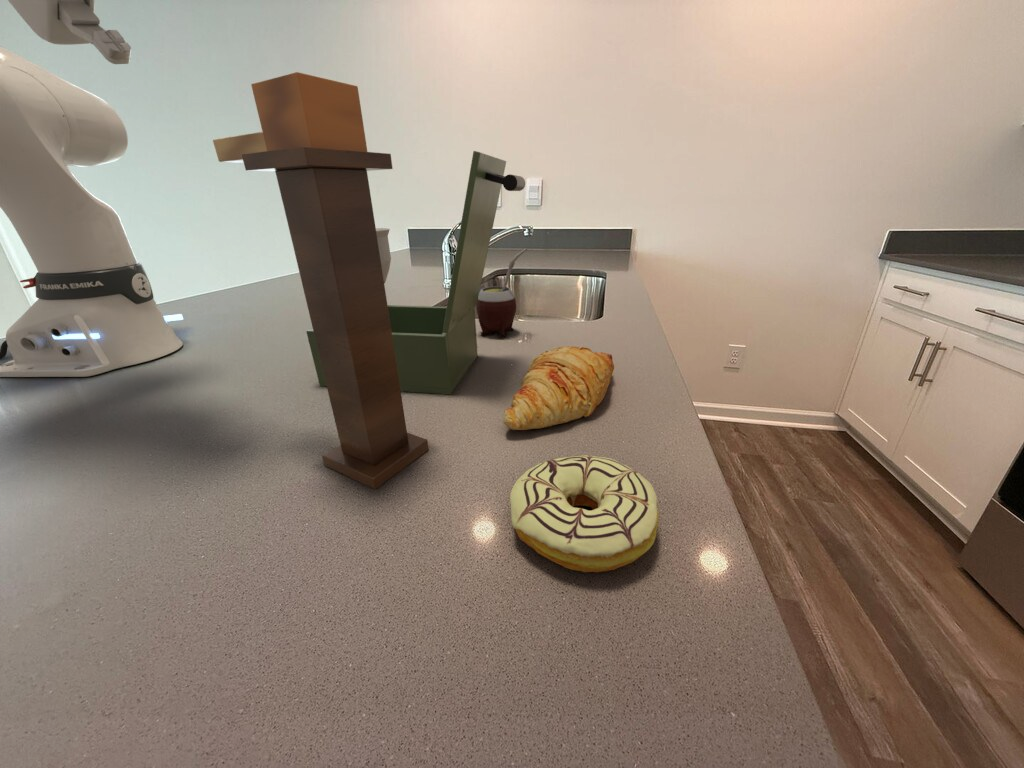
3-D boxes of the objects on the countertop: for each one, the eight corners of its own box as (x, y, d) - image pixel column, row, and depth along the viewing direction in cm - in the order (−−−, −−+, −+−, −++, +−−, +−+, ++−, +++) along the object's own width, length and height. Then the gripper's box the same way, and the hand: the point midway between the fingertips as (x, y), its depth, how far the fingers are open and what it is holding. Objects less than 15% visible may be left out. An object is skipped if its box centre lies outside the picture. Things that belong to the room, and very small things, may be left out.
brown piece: (202, 161, 32) (184, 101, 31) (259, 163, 36) (245, 109, 34) (312, 149, 26) (296, 71, 24) (368, 153, 29) (358, 86, 28)
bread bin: (319, 386, 55) (305, 331, 52) (368, 350, 67) (360, 304, 64) (450, 394, 52) (445, 336, 49) (477, 356, 64) (474, 307, 61)
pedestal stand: (324, 465, 39) (241, 153, 28) (380, 431, 44) (329, 159, 33) (375, 489, 35) (304, 146, 24) (429, 449, 41) (390, 153, 30)
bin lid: (473, 150, 40) (515, 161, 39) (501, 159, 52) (533, 168, 51) (442, 332, 48) (476, 342, 48) (472, 304, 61) (499, 312, 60)
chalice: (398, 338, 72) (382, 231, 65) (360, 339, 73) (340, 232, 65) (408, 326, 79) (394, 227, 71) (373, 326, 79) (356, 228, 72)
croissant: (530, 475, 42) (562, 429, 37) (465, 410, 45) (486, 359, 40) (621, 396, 57) (653, 355, 51) (567, 352, 60) (592, 308, 54)
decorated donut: (532, 471, 37) (532, 436, 36) (655, 495, 34) (661, 457, 33) (491, 559, 28) (489, 518, 27) (652, 602, 25) (661, 558, 24)
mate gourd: (473, 330, 76) (467, 246, 69) (511, 324, 79) (509, 243, 72) (487, 342, 70) (482, 251, 63) (528, 335, 72) (528, 247, 66)
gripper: (-79, -64, 32) (78, 107, 37) (-172, -484, 19) (90, -139, 24) (21, -51, 37) (150, 100, 41) (1, -386, 23) (194, -110, 28)
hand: (128, 11), depth 32 cm, fingers open, 8 cm apart
